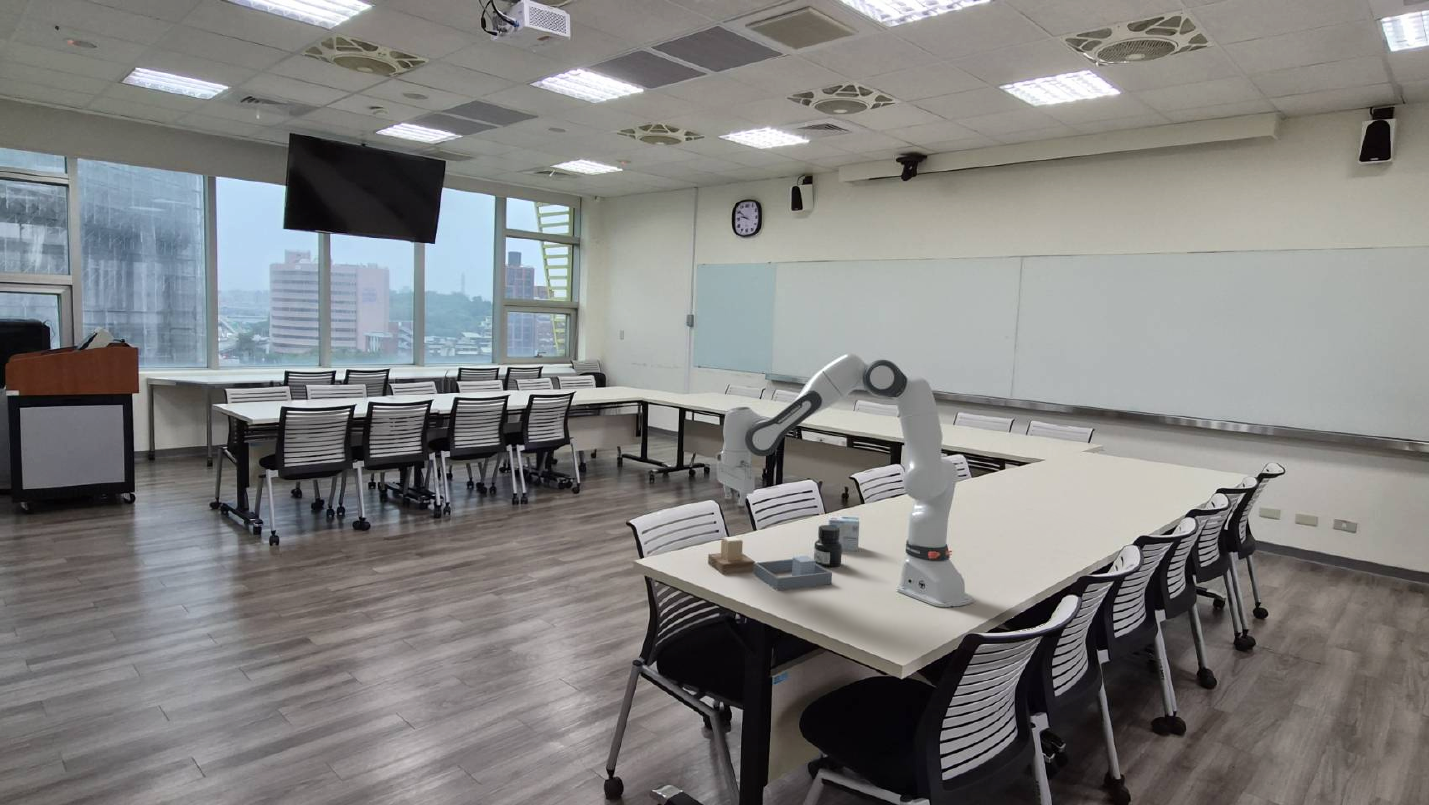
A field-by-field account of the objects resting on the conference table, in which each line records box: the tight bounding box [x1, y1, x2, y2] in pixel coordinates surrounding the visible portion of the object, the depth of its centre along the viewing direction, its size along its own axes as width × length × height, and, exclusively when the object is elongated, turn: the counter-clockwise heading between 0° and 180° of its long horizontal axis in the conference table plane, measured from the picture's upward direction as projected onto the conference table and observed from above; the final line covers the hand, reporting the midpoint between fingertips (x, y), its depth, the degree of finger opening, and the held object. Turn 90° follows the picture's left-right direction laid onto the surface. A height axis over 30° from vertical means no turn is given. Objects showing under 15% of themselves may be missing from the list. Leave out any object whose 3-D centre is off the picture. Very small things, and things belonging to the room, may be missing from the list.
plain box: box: [791, 555, 815, 576], centre depth 240 cm, size 5×5×6 cm
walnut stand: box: [707, 552, 756, 575], centre depth 247 cm, size 11×11×3 cm
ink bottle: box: [813, 524, 843, 568], centre depth 255 cm, size 10×9×12 cm
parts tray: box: [752, 558, 833, 591], centre depth 238 cm, size 16×19×4 cm
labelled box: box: [720, 536, 743, 561], centre depth 247 cm, size 5×5×6 cm
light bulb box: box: [827, 515, 860, 552], centre depth 273 cm, size 11×7×11 cm, turn 84°
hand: (734, 502), depth 245 cm, fingers open, 8 cm apart
